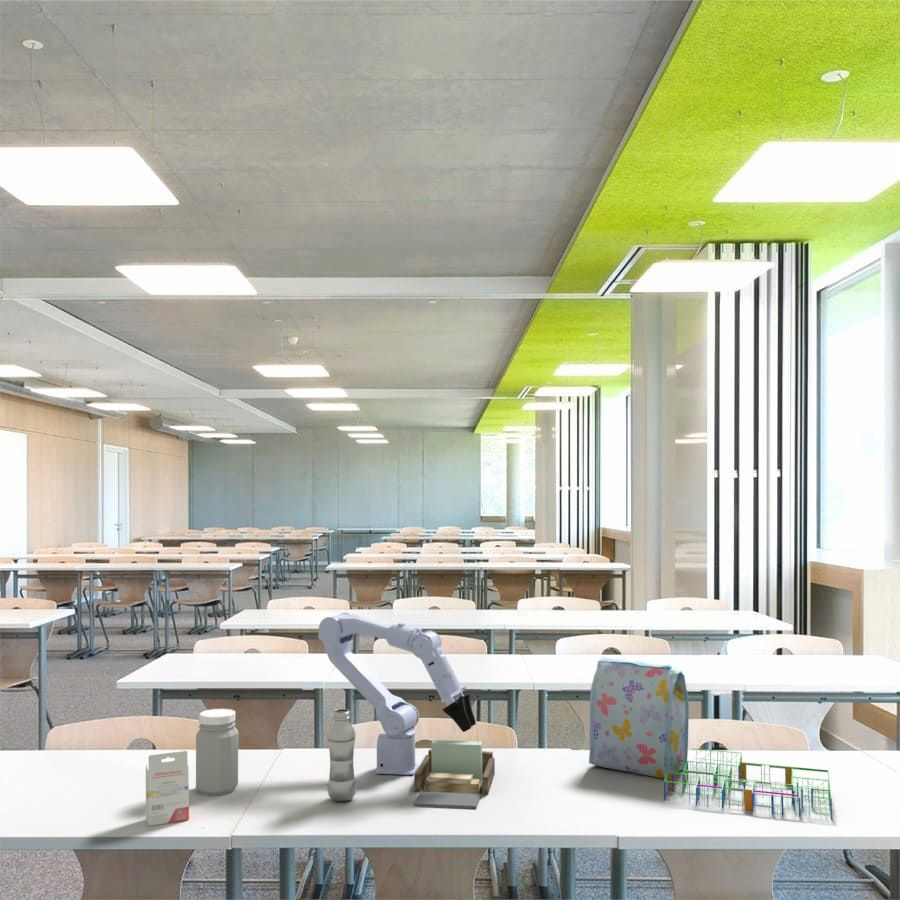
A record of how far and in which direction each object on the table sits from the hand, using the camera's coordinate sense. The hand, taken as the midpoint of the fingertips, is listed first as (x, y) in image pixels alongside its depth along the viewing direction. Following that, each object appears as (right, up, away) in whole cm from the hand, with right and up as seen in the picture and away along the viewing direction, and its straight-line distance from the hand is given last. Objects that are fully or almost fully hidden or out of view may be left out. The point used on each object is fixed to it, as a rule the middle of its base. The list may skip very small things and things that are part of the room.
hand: (469, 728), depth 225 cm
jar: (-60, -13, -7) cm, 61 cm away
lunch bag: (+43, -12, +8) cm, 46 cm away
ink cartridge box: (-66, -12, -27) cm, 72 cm away
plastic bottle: (-29, -12, -15) cm, 35 cm away
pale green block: (-3, -12, -1) cm, 13 cm away
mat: (-5, -12, -16) cm, 21 cm away
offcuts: (-4, -12, -8) cm, 15 cm away
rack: (-3, -12, -2) cm, 13 cm away
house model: (+65, -12, -10) cm, 66 cm away
